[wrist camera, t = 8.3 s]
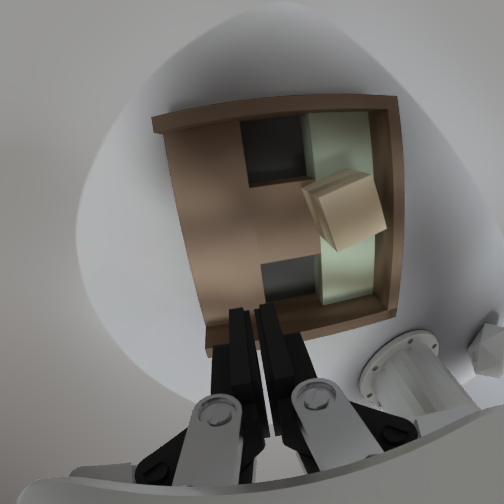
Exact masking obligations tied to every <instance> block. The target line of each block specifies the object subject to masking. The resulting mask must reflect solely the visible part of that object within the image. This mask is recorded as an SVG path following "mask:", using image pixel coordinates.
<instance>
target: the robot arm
mask: <svg viewBox="0 0 504 504" xmlns="http://www.w3.org/2000/svg"><path fill="white" fill-rule="evenodd" d="M254 313H255V319H256V325H257V332H258V338H259V344H260V350H261V356H262V362H263V368H264V374H265V380H266V385H267V391H268V397H269V403H270V409H271V414H272V420H273V426H274V431H275V436H280V435H282V440H283V443H284V445H286V446H288V447H289V448H291V449H293V450H295V451H296V456H297V458H298V460H299V462H300V464H301V467H302V469H303V471H304V474H305V475H302V476H298V477H292V478H287V479H281V480H274V481H267V482H260V483H255V477H256V465H257V464H256V463H257V460H256V456H257V455H258V454H259V453H260V452H261V451H262V450H263V449H264V446H265V440H264V438H267V437H270V432H269V426H268V420H267V413H266V407H265V401H264V394H263V388H262V382H261V375H260V369H259V363H258V357H257V351H256V346H255V340H254V334H253V328H252V323H251V317H250V311H249V310H246V311H244V309H243V307H240V308H234V309H229V343H228V344H220V345H214V346H213V353H212V374H211V395H210V396H207V397H205V398H203V399H202V400H200V401H199V402H198V403H197V404H196V405H195V407H194V409H193V411H192V415H191V418H190V422H189V426H188V427H187V428H186V429H185V430H184V431H182V432H181V433H179V434H178V435H177V436H175V437H174V438H173V439H171V440H170V441H169V442H167V443H166V444H164V445H163V446H162V447H160V448H159V449H157V450H156V451H155V452H153V453H152V454H150V455H149V456H148V457H146V458H145V459H143V460H142V461H141V462H140V463H139V464H138V465H133V464H132V463H123V464H112V465H99V466H82V467H77V468H76V469H74V470H73V471H72V472H71V473H70V475H69V476H68V477H67V476H66V477H65V476H62V477H51V478H44V479H40V480H37V481H33V482H32V483H30V484H28V485H27V486H26V487H25V488H24V489H23V491H22V492H21V494H20V495H19V497H18V499H17V501H16V504H504V405H499V406H494V407H490V408H486V409H483V410H481V409H480V408H478V406H477V405H476V404H475V403H474V401H473V400H472V399H471V397H470V396H469V395H468V393H467V392H466V391H465V390H464V388H463V387H462V386H461V385H460V384H459V382H458V381H457V380H456V379H455V377H454V376H453V375H452V374H451V373H450V371H449V370H448V369H447V368H446V367H445V365H444V364H443V363H442V362H441V361H440V360H439V358H438V352H439V343H438V340H437V339H436V337H435V336H434V335H433V334H432V333H431V332H428V331H426V330H415V331H411V332H408V333H405V334H403V335H401V336H399V337H397V338H395V339H394V340H392V341H390V342H389V343H388V344H387V345H385V346H384V347H383V348H382V349H380V350H379V351H378V352H377V353H376V354H375V355H374V356H373V358H372V359H371V360H370V361H369V363H368V364H367V365H366V367H365V368H364V370H363V372H362V374H361V377H360V381H359V388H360V391H361V393H362V395H363V397H364V398H365V399H366V400H368V401H370V402H375V403H380V404H381V405H382V407H383V409H384V411H385V412H382V411H379V410H375V409H372V408H369V407H366V406H363V405H360V404H357V403H354V402H351V401H349V400H348V399H347V398H346V396H345V395H344V393H343V392H342V390H341V389H340V387H339V386H338V385H337V384H336V383H334V382H332V381H330V380H328V379H323V378H317V376H316V373H315V370H314V368H313V365H312V362H311V360H310V357H309V354H308V352H307V349H306V346H305V344H304V341H303V339H302V336H301V334H300V332H295V333H290V334H284V335H283V334H282V330H281V327H280V324H279V320H278V317H277V313H276V310H275V307H274V303H273V302H271V303H265V304H259V308H258V309H254Z"/></svg>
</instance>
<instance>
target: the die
mask: <svg viewBox="0 0 504 504" xmlns="http://www.w3.org/2000/svg"><path fill="white" fill-rule="evenodd" d="M467 350H468V352H469V355H470V358H471V361H472V364H473V368H474V371H475V374H479V375H484V376H490V377H495V378H500V376H501V375H502V374H503V372H504V327H500V326H496V325H492V324H488V323H485V324H484V325H483V327H482V328H481V330H480V331H479V333H478V334H477V336H476V337H475V339H474V340H473V342H472V343H471V345H470V346H469V347H468V349H467Z"/></svg>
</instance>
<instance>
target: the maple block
mask: <svg viewBox="0 0 504 504" xmlns="http://www.w3.org/2000/svg"><path fill="white" fill-rule="evenodd" d="M301 189H302V191H303V194H304V197H305V199H306V202H307V204H308V207H309V209H310V212H311V214H312V217H313V220H314V222H315V225H316V228H317V230H318V233H319V235H320V236H321V237H322V238H323V239H324V240H325V241H326V242H327V243H328V244H329V245H330V246H332V247H333V248H334V249H335V250H336V251H337V252H341V251H343V250H345V249H347V248H349V247H351V246H353V245H355V244H357V243H359V242H361V241H363V240H365V239H367V238H369V237H371V236H373V235H375V234H377V233H379V232H381V231H383V230H385V229H387V227H386V223H385V219H384V215H383V211H382V207H381V204H380V200H379V197H378V193H377V190H376V186H375V183H374V179H373V176H372V174H368V173H364V172H360V171H356V170H352V169H348V168H346V169H344V170H342V171H339V172H337V173H334V174H332V175H330V176H327V177H325V178H323V179H320V180H318V181H316V182H313V183H311V184H309V185H307V186H304V187H302V188H301Z"/></svg>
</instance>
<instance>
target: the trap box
mask: <svg viewBox="0 0 504 504" xmlns="http://www.w3.org/2000/svg"><path fill="white" fill-rule="evenodd" d="M151 118H152V124H153V131H154V133H159V134H163V136H164V142H165V148H166V154H167V160H168V165H169V171H170V176H171V181H172V186H173V192H174V197H175V201H176V206H177V211H178V216H179V220H180V225H181V230H182V234H183V238H184V243H185V247H186V251H187V256H188V260H189V264H190V268H191V272H192V276H193V280H194V284H195V288H196V292H197V296H198V299H199V303H200V307H201V311H202V314H203V318H204V322H205V325H206V338H205V350H206V353H207V356H208V358H211V357H212V353H213V346H214V345H220V344H228V343H229V309H234V308H240V307H243V309H244V311H246V310H249V311H250V317H251V323H252V328H253V334H254V340H255V346H256V350H260V344H259V338H258V332H257V325H256V319H255V313H254V309H258V308H259V304H265V303H271V302H273V303H274V307H275V310H276V313H277V317H278V320H279V324H280V327H281V330H282V334H283V335H284V334H290V333H295V332H300V334H301V336H302V339H303V341H306V340H310V339H315V338H319V337H323V336H327V335H332V334H336V333H340V332H343V331H347V330H351V329H355V328H359V327H362V326H366V325H369V324H373V323H376V322H380V321H383V320H386V319H390V318H393V317H396V312H397V305H398V298H399V289H400V280H401V269H402V256H403V240H404V163H403V146H402V134H401V124H400V115H399V107H398V99H397V96H386V95H366V94H311V95H291V96H277V97H266V98H256V99H248V100H240V101H232V102H226V103H219V104H213V105H207V106H201V107H196V108H191V109H186V110H181V111H176V112H172V113H167V114H163V115H159V116H155V117H151ZM346 168H348V169H352V170H356V171H360V172H364V173H368V174H372V176H373V179H374V183H375V186H376V190H377V193H378V197H379V200H380V204H381V207H382V211H383V215H384V219H385V223H386V227H387V229H385V230H383V231H381V232H379V233H377V234H375V235H373V236H371V237H369V238H367V239H365V240H363V241H361V242H359V243H357V244H355V245H353V246H351V247H349V248H347V249H345V250H343V251H341V252H337V251H336V250H335V249H334V248H333V247H332V246H330V245H329V244H328V243H327V242H326V241H325V240H324V239H323V238H322V237H321V236H320V235H319V233H318V230H317V228H316V225H315V222H314V220H313V217H312V214H311V212H310V209H309V207H308V204H307V202H306V199H305V197H304V194H303V191H302V189H301V188H302V187H304V186H307V185H309V184H311V183H313V182H316V181H318V180H320V179H323V178H325V177H327V176H330V175H332V174H334V173H337V172H339V171H342V170H344V169H346Z"/></svg>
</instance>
